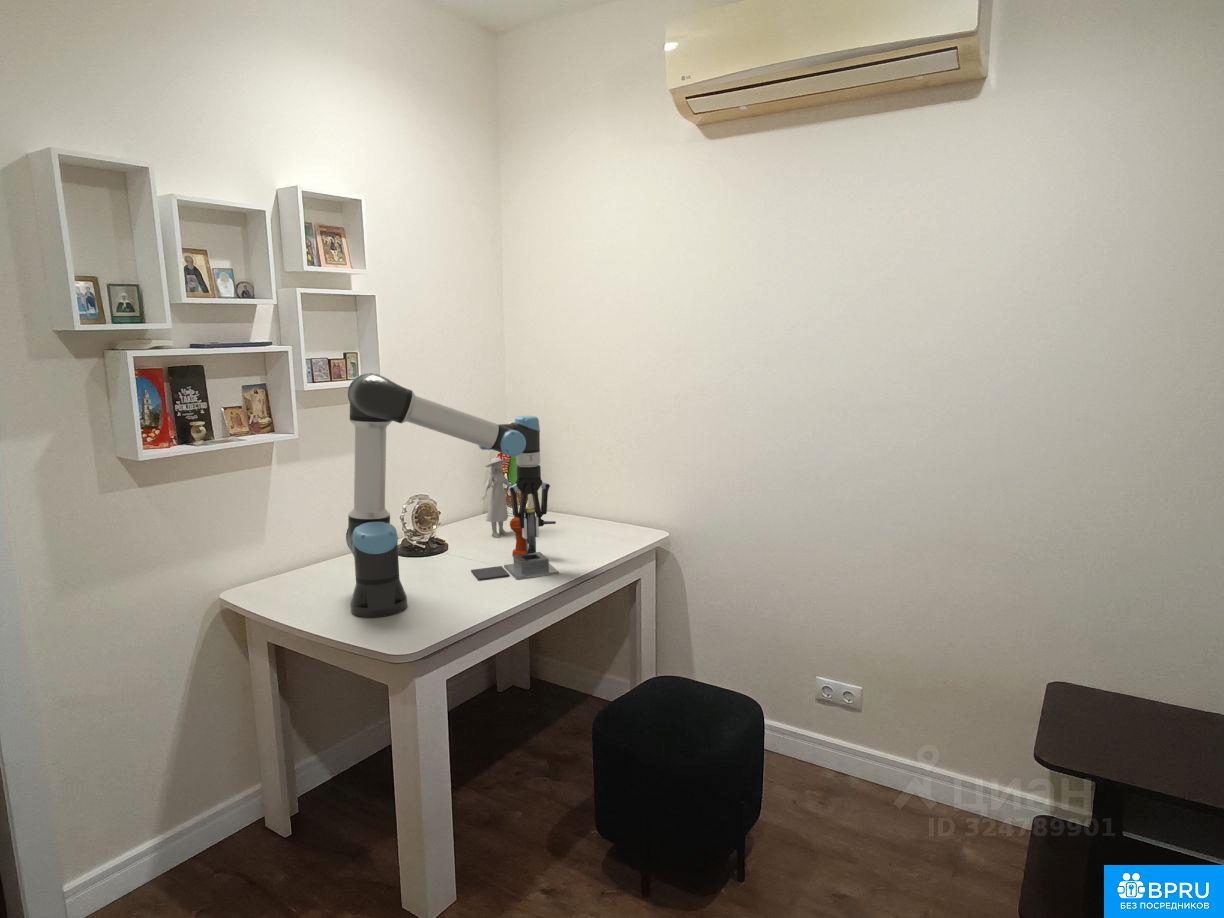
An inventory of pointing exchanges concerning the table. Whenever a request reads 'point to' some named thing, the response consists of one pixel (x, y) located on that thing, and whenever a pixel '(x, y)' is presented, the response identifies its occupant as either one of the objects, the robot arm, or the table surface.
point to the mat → (490, 573)
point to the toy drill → (518, 532)
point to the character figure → (497, 497)
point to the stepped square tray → (530, 566)
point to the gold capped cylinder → (530, 530)
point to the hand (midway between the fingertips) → (530, 536)
